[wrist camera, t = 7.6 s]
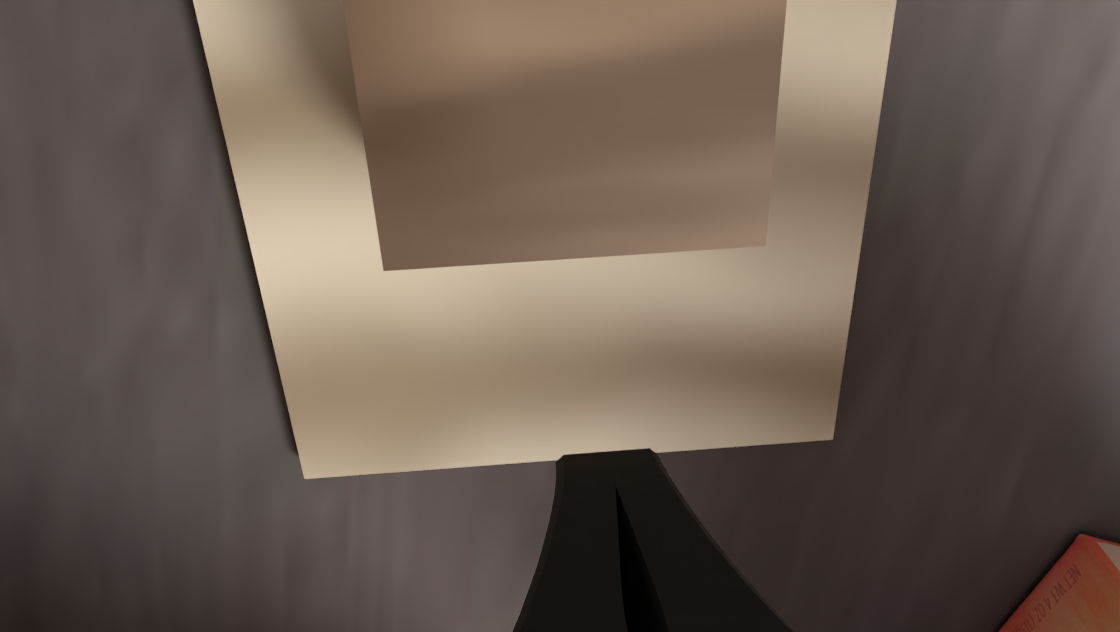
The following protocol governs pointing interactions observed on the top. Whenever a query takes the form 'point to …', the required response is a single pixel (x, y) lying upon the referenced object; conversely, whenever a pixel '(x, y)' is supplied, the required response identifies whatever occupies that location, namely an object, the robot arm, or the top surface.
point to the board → (541, 274)
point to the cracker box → (1075, 592)
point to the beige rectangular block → (565, 126)
